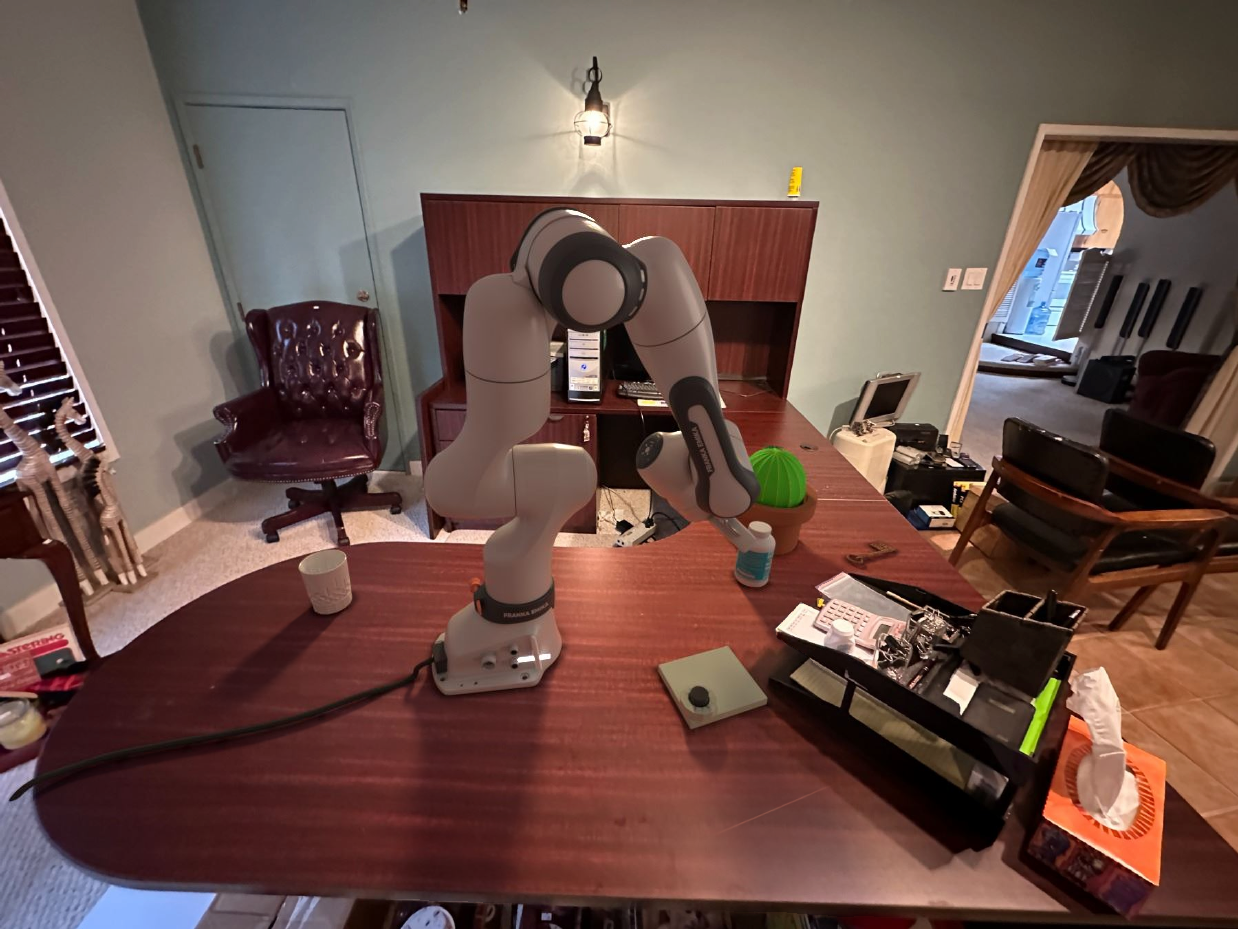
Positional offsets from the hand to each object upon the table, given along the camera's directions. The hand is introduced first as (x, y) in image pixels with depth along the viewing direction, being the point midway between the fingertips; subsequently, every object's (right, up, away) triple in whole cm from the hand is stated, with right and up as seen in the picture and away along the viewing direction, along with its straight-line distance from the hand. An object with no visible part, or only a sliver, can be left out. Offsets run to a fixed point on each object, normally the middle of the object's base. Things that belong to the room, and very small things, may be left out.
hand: (733, 532), depth 100 cm
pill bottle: (+6, -12, +11) cm, 17 cm away
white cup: (-80, -14, -2) cm, 81 cm away
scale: (-8, -24, -17) cm, 30 cm away
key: (+38, -8, +22) cm, 45 cm away
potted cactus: (+13, -5, +27) cm, 30 cm away
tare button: (-11, -23, -22) cm, 34 cm away
